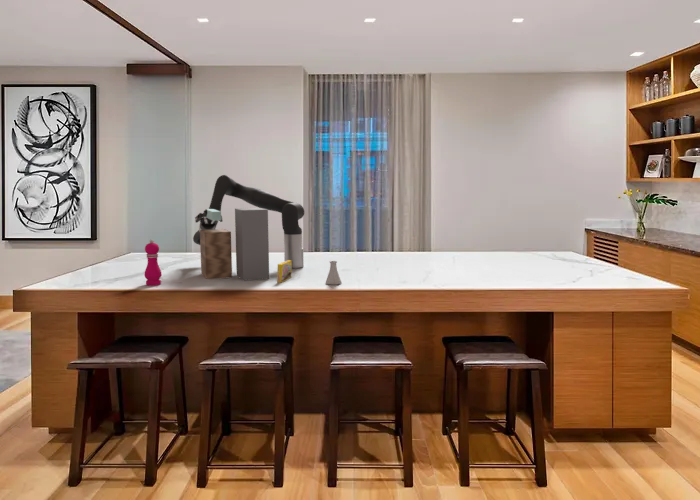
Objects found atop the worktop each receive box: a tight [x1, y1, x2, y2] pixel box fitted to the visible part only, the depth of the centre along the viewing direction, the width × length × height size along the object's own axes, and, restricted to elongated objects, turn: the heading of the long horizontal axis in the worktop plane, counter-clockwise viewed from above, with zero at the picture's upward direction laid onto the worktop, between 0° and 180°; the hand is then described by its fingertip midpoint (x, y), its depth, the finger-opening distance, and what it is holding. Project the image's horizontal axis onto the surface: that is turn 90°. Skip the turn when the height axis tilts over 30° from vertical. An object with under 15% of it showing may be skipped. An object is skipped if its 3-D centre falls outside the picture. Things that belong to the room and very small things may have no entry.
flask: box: [325, 260, 342, 286], centre depth 287 cm, size 7×7×10 cm
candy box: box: [276, 260, 292, 284], centre depth 299 cm, size 16×2×8 cm, turn 168°
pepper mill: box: [144, 239, 163, 287], centre depth 287 cm, size 7×7×20 cm
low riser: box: [199, 228, 233, 280], centre depth 311 cm, size 12×16×22 cm
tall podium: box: [234, 207, 270, 281], centre depth 305 cm, size 12×16×32 cm
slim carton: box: [204, 208, 222, 220], centre depth 313 cm, size 4×22×4 cm, turn 21°
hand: (211, 211), depth 318 cm, fingers closed on slim carton, 4 cm apart
